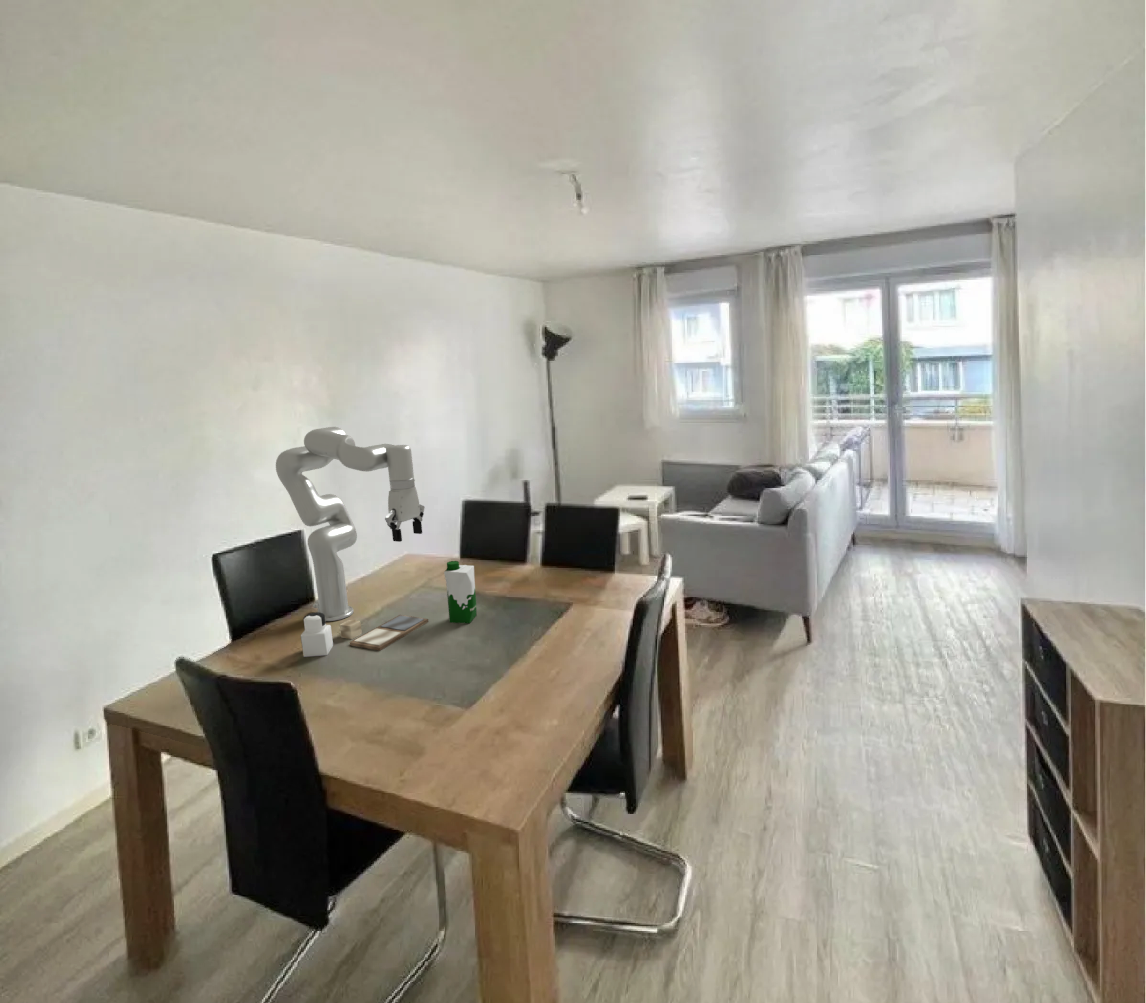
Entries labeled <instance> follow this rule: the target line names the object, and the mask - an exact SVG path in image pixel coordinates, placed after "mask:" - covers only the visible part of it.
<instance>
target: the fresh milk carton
mask: <svg viewBox="0 0 1146 1003" xmlns="http://www.w3.org/2000/svg"><path fill="white" fill-rule="evenodd" d="M443 574H444V579H445V582H446V583H445V585H446V593H447V595H446V596H447V606H448V608H447V609H448V617H449V618H448V619H449V623H450V624H451V623H452V624H471V623H472V622H473V620H474V619H475V618H476V617H477V597H476V596H477V594H476V582H475V581H476V580H475V565H467V564H460V562H459V561H458V560H451V561H447V562H446V570H445V571H444V572H443Z"/></svg>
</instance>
